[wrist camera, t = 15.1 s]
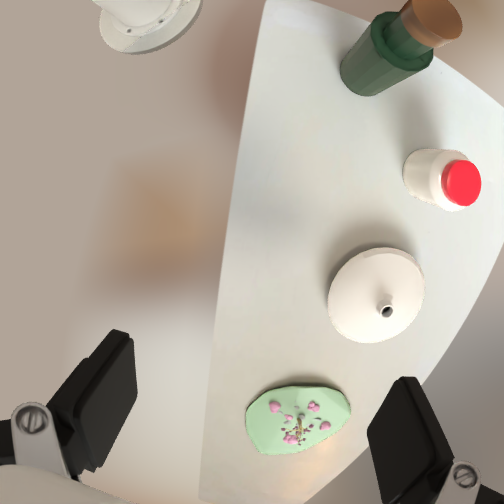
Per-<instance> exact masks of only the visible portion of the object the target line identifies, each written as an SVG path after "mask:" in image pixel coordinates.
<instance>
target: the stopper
mask: <svg viewBox="0 0 504 504" xmlns="http://www.w3.org/2000/svg"><path fill="white" fill-rule="evenodd" d="M401 19H402V22H403V24H404V26H405V28H406V30H407V31H408V32H409V34H410V35H411V36H412V37H413V38H414V39H416V40H417V41H418V42H420V43H422V44H424V45H426V46H429V47H436V48H438V47H441V46H443V45H445V44H447V43H449V42H451V41H452V40H454V39H456V38H458V37H459V36H460V34H461V32H462V21H461V18H460V16H459V14H458V12H457V10H456V9H455V7H454V6H453V5H452V4H451V3H450V2H449V1H448V0H408V1H407V3H406V4H405V5H404V6H403V8H402V10H401Z"/></svg>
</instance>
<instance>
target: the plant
mask: <svg viewBox="0 0 504 504" xmlns="http://www.w3.org/2000/svg"><path fill="white" fill-rule="evenodd" d="M350 414H351V409H350V406H349V403H348V401H347V400H346V398H345V397H344V395H343V394H342V393H341V392H339V391H336V390H333V389H330V388H327V387H304V386H288V387H283V388H278V389H274V390H270V391H268V392H266V393H264V394H263V395H261V396H260V397H259V398H258V399H256V400H255V401H254V402H253V403H252V404H251V405H250V406H249V408H248V409H247V414H246V430H247V433H248V435H249V437H250V438H251V440H252V442H253V444H254V445H255V447H256V449H257V450H258V452H260V453H263V454H266V455H278V454H291V453H297V452H300V451H303V450H306V449H308V448H310V447H312V446H314V445H315V444H317V443H319V442H321V441H323V440H325V439H326V438H328V437H330V436H331V435H333V434H335V433H336V432H337V431H338V430H339V429H340V428H341V427H342V426H343V425H344V424H345V423H346V422H347V420H348V419H349V418H350Z"/></svg>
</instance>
